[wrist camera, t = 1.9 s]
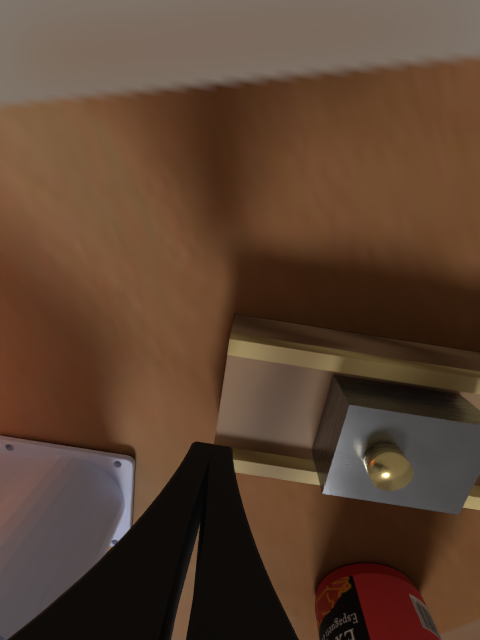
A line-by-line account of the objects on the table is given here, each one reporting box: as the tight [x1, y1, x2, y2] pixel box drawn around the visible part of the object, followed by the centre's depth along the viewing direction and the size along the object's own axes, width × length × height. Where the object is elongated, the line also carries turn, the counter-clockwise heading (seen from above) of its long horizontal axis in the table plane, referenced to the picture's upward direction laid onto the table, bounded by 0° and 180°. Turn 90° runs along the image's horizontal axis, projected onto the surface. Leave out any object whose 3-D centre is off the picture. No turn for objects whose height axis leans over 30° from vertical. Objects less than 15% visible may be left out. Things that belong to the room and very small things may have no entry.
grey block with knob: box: [312, 374, 480, 515], centre depth 13 cm, size 6×4×3 cm
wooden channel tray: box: [214, 314, 480, 510], centre depth 16 cm, size 18×7×4 cm, turn 81°
